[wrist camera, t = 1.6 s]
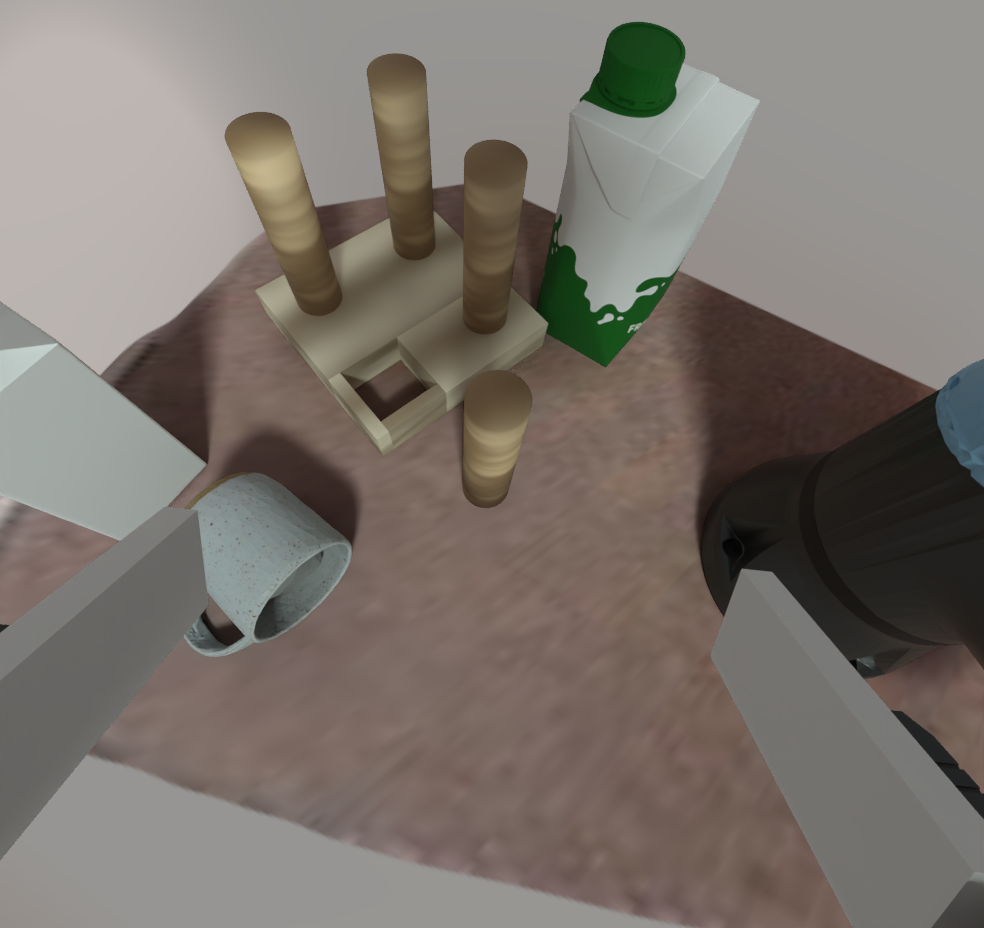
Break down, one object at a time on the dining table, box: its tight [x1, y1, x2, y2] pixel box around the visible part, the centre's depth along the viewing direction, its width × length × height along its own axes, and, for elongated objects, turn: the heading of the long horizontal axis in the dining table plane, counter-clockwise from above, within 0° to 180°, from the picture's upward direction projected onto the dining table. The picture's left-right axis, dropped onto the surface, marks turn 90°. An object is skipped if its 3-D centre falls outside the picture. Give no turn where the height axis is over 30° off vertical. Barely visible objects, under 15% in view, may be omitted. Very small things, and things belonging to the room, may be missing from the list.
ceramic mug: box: [183, 472, 352, 657], centre depth 31 cm, size 11×8×8 cm
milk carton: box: [0, 302, 206, 541], centre depth 28 cm, size 7×7×19 cm
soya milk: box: [536, 22, 760, 367], centre depth 35 cm, size 9×9×20 cm
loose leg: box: [462, 370, 532, 508], centre depth 32 cm, size 3×3×13 cm
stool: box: [225, 54, 548, 456], centre depth 35 cm, size 16×16×16 cm
